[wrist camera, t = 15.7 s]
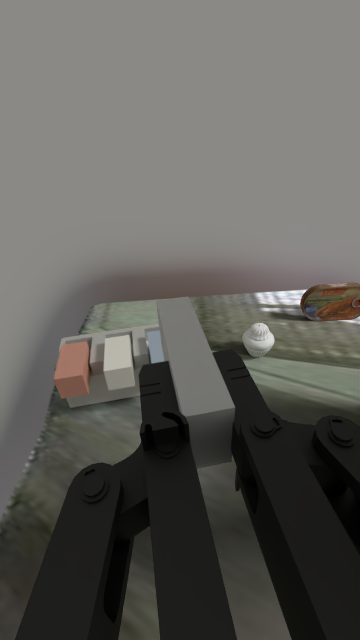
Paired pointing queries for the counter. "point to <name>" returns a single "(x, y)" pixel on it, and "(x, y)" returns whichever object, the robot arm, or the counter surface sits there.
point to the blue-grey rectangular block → (155, 346)
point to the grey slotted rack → (97, 378)
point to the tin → (332, 302)
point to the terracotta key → (73, 370)
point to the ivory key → (118, 362)
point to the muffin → (258, 340)
